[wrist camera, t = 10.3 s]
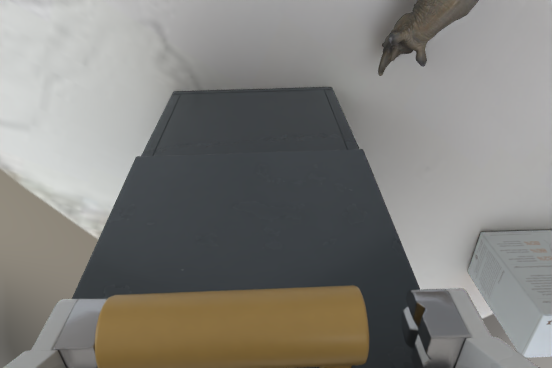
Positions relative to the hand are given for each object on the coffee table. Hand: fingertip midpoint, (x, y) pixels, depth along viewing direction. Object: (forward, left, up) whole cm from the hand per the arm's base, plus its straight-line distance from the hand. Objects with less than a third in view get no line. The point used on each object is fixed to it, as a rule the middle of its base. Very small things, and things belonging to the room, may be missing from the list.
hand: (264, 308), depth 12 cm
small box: (-17, +27, -23) cm, 39 cm away
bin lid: (+1, +2, -4) cm, 5 cm away
